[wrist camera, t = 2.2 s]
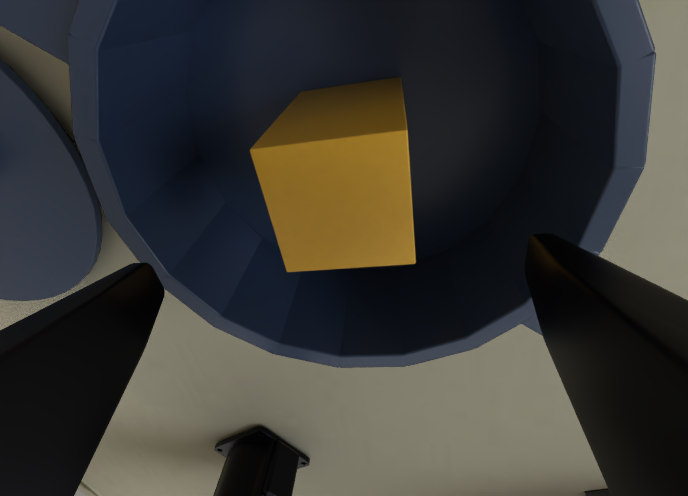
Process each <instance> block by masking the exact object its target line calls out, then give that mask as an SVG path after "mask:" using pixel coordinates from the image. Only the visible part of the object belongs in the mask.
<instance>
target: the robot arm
mask: <svg viewBox="0 0 688 496" xmlns="http://www.w3.org/2000/svg"><path fill="white" fill-rule="evenodd" d="M524 270H525V277H526V280H527V284H528V287H529V291H530V294H531V298H532V301H533V305H534V308H535V312H536V315H537V319H538V322H539V326H540V329H541V332H542V335H543V338H544V340H545V343H546V345H547V348H548V350H549V353H550V355H551V357H552V359H553V362H554V364H555V366H556V369H557V371H558V373H559V376H560V378H561V380H562V383H563V385H564V387H565V390H566V392H567V394H568V396H569V399H570V401H571V403H572V406H573V408H574V410H575V413H576V415H577V417H578V420H579V422H580V424H581V427H582V429H583V431H584V433H585V436H586V438H587V440H588V443H589V445H590V447H591V450H592V452H593V454H594V457H595V459H596V461H597V463H598V466H599V468H600V470H601V473H602V475H603V477H604V480H605V482H606V484H607V487H608V489H609V491H610V494H611V496H688V300H686V299H684V298H682V297H680V296H678V295H676V294H674V293H672V292H670V291H668V290H666V289H664V288H662V287H660V286H658V285H656V284H654V283H652V282H650V281H648V280H645V279H643V278H641V277H639V276H637V275H635V274H633V273H631V272H629V271H627V270H625V269H623V268H621V267H619V266H617V265H615V264H613V263H611V262H609V261H607V260H605V259H603V258H601V257H599V256H597V255H595V254H593V253H591V252H589V251H587V250H585V249H583V248H581V247H579V246H577V245H575V244H573V243H571V242H569V241H567V240H565V239H563V238H561V237H559V236H557V235H555V234H553V233H540V234H532V235H531V236H530V237H529V239H528V244H527V251H526V259H525V266H524ZM164 293H165V292H164V287H163V285H162V283H161V281H160V279H159V278H158V276H157V274H156V272H155V270H154V268H153V267H152V266H151V265H150V264H149V263H146V262H145V263H133V264H130V265H128V266H126V267H124V268H122V269H120V270H118V271H116V272H114V273H112V274H110V275H108V276H106V277H104V278H102V279H100V280H98V281H96V282H94V283H92V284H90V285H89V286H87V287H85V288H83V289H81V290H79V291H77V292H75V293H73V294H71V295H69V296H67V297H65V298H63V299H61V300H59V301H57V302H55V303H53V304H51V305H49V306H47V307H45V308H43V309H41V310H40V311H38V312H36V313H34V314H32V315H30V316H28V317H26V318H24V319H22V320H20V321H18V322H16V323H14V324H12V325H10V326H8V327H6V328H4V329H2V330H0V496H74V495H75V492H76V491H77V488H78V486H79V484H80V482H81V480H82V478H83V476H84V474H85V472H86V470H87V468H88V466H89V464H90V462H91V459H92V457H93V455H94V453H95V451H96V449H97V447H98V445H99V443H100V441H101V439H102V437H103V435H104V433H105V431H106V428H107V426H108V424H109V422H110V420H111V418H112V416H113V414H114V412H115V410H116V408H117V406H118V404H119V402H120V399H121V397H122V395H123V393H124V391H125V389H126V387H127V385H128V383H129V381H130V379H131V377H132V375H133V373H134V370H135V368H136V366H137V364H138V362H139V360H140V358H141V356H142V354H143V352H144V349H145V347H146V344H147V342H148V339H149V337H150V334H151V331H152V328H153V326H154V323H155V320H156V317H157V315H158V312H159V309H160V306H161V304H162V301H163V298H164ZM215 451H216V452H218V453H220V454H221V455H223V456H225V457H226V461H225V464H224V466H223V469H222V472H221V475H220V478H219V481H218V484H217V487H216V489H215V492H214V495H213V496H292V492H293V487H294V482H295V477H296V472H297V469H299V468H302V467H305V466H308V465H309V462H310V458H308V457H307V456H306V455H304V454H303V453H301V452H300V451H298V450H297V449H295V448H294V447H292V446H291V445H290V444H288V443H287V442H285V441H284V440H282V439H281V438H279V437H278V436H276V435H275V434H274V433H272V432H271V431H269V430H268V429H266V428H264V427H256V428H254V429H251V430H249V431H246V432H244V433H241V434H239V435H236V436H234V437H231V438H229V439H226V440H224V441H221V442H219V443H217V444H216V446H215Z"/></svg>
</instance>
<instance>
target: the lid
mask: <svg viewBox="0 0 688 496" xmlns="http://www.w3.org/2000/svg"><path fill="white" fill-rule="evenodd" d="M101 242H102V217H101V212H100V207H99V202H98V199H97V196H96V193H95V190H94V187H93V184H92V181H91V179H90V176H89V174H88V172H87V170H86V168H85V166H84V163H83V161H82V159H81V158H80V156H79V154H78V152H77V151H76V149H75V147H74V146H73V144H72V142H71V141H70V139H69V137H68V136H67V134H66V133H65V132H64V130H63V129H62V127H61V126H60V125H59V123H58V122H57V120H56V119H55V118H54V116H53V115H52V113H51V112H50V111H49V110H48V109H47V108H46V106H45V105H44V104H43V103H42V102H41V100H40V99H39V98H38V97H37V96H36V95H35V93H34V92H33V91H32V90H31V89H30V88H29V87H28V86H27V85H26V84H25V83H24V82H23V81H22V80H21V79H20V78H19V77H18V76H17V75H16V74H15V73H14V72H13V71H12V70H11V69H10V68H9V67H8V66H7V65H6V64H5V63H4V62H3V61H2V60H1V59H0V299H4V300H16V301H30V300H41V299H46V298H50V297H54V296H57V295H59V294H62V293H64V292H67V291H68V290H70V289H71V288H73V287H74V286H76V285H77V284H78V283H79V282H80V281H81V280H82V279H83V278H85V277H86V276H87V275H88V274H89V272H90V271H91V269H92V268H93V266H94V265H95V263H96V261H97V258H98V255H99V252H100V249H101Z"/></svg>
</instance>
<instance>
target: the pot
mask: <svg viewBox="0 0 688 496" xmlns="http://www.w3.org/2000/svg"><path fill="white" fill-rule="evenodd" d="M0 25H1V26H2V27H4V28H6V29H8V30H9V31H11V32H13V33H15V34H16V35H18V36H20V37H22V38H23V39H25V40H27V41H28V42H30V43H32V44H34V45H35V46H37V47H39V48H41V49H42V50H44V51H46V52H48V53H49V54H51V55H53V56H55V57H56V58H58V59H60V60H62V61H63V62H65V63H67V64H69V72H70V90H71V107H72V125H73V135H74V139H75V141H76V144H77V146H78V149H79V151H80V154H81V156H82V159H83V161H84V164H85V166H86V169H87V171H88V174H89V176H90V179H91V181H92V184H93V186H94V189H95V191H96V194H97V196H98V199H99V201H100V204H101V206H102V209H103V211H104V214H105V216H106V218H107V221H108V222H109V223H110V224H111V226H112V227H113V228H114V230H115V231H116V232H117V233H118V235H119V236H120V237H121V239H122V240H123V241H124V242H125V244H126V245H127V246H128V248H129V249H130V250H131V251H132V253H133V254H134V255H135V257H136V258H137V259H138V260H139V262H140V263H145V262H146V263H149V264H150V265H151V266H152V267H153V268H154V270H155V272H156V274H157V276H158V278H159V279H160V281H161V283H162V285H163V287H164V289H166V290H167V291H168V292H170V293H171V294H172V295H173V296H175V297H176V298H177V299H179V300H180V301H181V302H182V303H184V304H185V305H186V306H188V307H189V308H190V309H191V310H193V311H194V312H195V313H197V314H198V315H199V316H200V317H202V318H203V319H204V320H206V321H207V322H208V323H209V324H211V325H213V327H216V328H218V329H220V330H222V331H224V332H226V333H229V334H231V335H233V336H235V337H237V338H240V339H242V340H244V341H246V342H248V343H250V344H253V345H255V346H257V347H259V348H261V349H264V350H266V351H268V352H270V353H272V354H276V355H281V356H285V357H290V358H295V359H300V360H305V361H309V362H314V363H319V364H324V365H328V366H333V367H341V368H353V367H405V366H406V365H407V366H410V365H414V364H418V363H422V362H426V361H430V360H434V359H438V358H442V357H445V356H449V355H453V354H457V353H461V352H465V351H469V350H472V349H474V348H478V347H479V346H481V345H483V344H485V343H487V342H488V341H490V340H492V339H494V338H496V337H497V336H499V335H501V334H503V333H505V332H507V331H508V330H510V329H512V328H514V327H516V326H517V325H519V324H523V325H525V326H527V327H528V328H530V329H532V330H534V331H535V332H537V333H539V334H541V335H542V332H541V329H540V326H539V322H538V319H537V315H536V312H535V308H534V305H533V301H532V298H531V294H530V291H529V287H528V284H527V280H526V277H525V270H524V266H525V259H526V251H527V244H528V239H529V237H530V236H531V235H532V234H540V233H553V234H555V235H557V236H559V237H561V238H563V239H565V240H567V241H569V242H571V243H573V244H575V245H577V246H579V247H581V248H583V249H585V250H587V251H589V252H591V253H593V254H595V255H597V256H598V255H599V254H600V252H602V250H603V248H604V246H605V244H606V242H607V240H608V238H609V236H610V234H611V233H612V231H613V229H614V227H615V225H616V223H617V221H618V219H619V217H620V215H621V213H622V211H623V209H624V207H625V205H626V203H627V201H628V199H629V197H630V195H631V193H632V191H633V189H634V187H635V185H636V183H637V181H638V179H639V177H640V175H641V173H642V171H643V169H644V165H645V162H646V151H647V141H648V131H649V121H650V110H651V100H652V90H653V80H654V69H655V59H656V53H655V52H653V51H654V50H655V47H654V44H653V41H652V38H651V36H650V33H649V30H648V27H647V24H646V21H645V18H644V15H643V12H642V9H641V6H640V3H639V0H0ZM396 77H401V82H402V90H403V98H404V106H405V114H406V121H407V129H408V143H409V159H410V175H411V191H412V207H413V223H414V239H415V256H416V263H415V264H407V265H391V266H376V267H360V268H345V269H329V270H313V271H298V272H287V271H286V267H285V264H284V261H283V258H282V254H281V251H280V248H279V245H278V241H277V238H276V235H275V231H274V228H273V225H272V222H271V218H270V215H269V212H268V209H267V205H266V202H265V199H264V195H263V192H262V189H261V186H260V182H259V179H258V176H257V173H256V169H255V166H254V163H253V159H252V156H251V153H250V149H251V148H252V146H253V145H254V144H255V143H256V142H257V141H258V140H259V139H260V137H261V136H262V135H263V134H264V133H265V132H266V131H267V129H268V128H269V127H270V126H271V125H272V124H273V123H274V122H275V120H276V119H277V118H278V117H279V116H280V115H281V114H282V112H283V111H284V110H285V109H286V108H287V107H288V106H289V105H290V103H291V102H292V101H293V100H294V99H295V98H296V97H297V95H298V94H299V93H300V92H302V91H309V90H316V89H322V88H329V87H336V86H342V85H349V84H356V83H362V82H369V81H376V80H382V79H389V78H396ZM542 336H543V335H542Z"/></svg>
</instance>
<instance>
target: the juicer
mask: <svg viewBox="0 0 688 496" xmlns="http://www.w3.org/2000/svg"><path fill="white" fill-rule="evenodd" d="M585 494H586V496H611V494H610V491H609V490H601V491H593V492H585Z"/></svg>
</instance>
